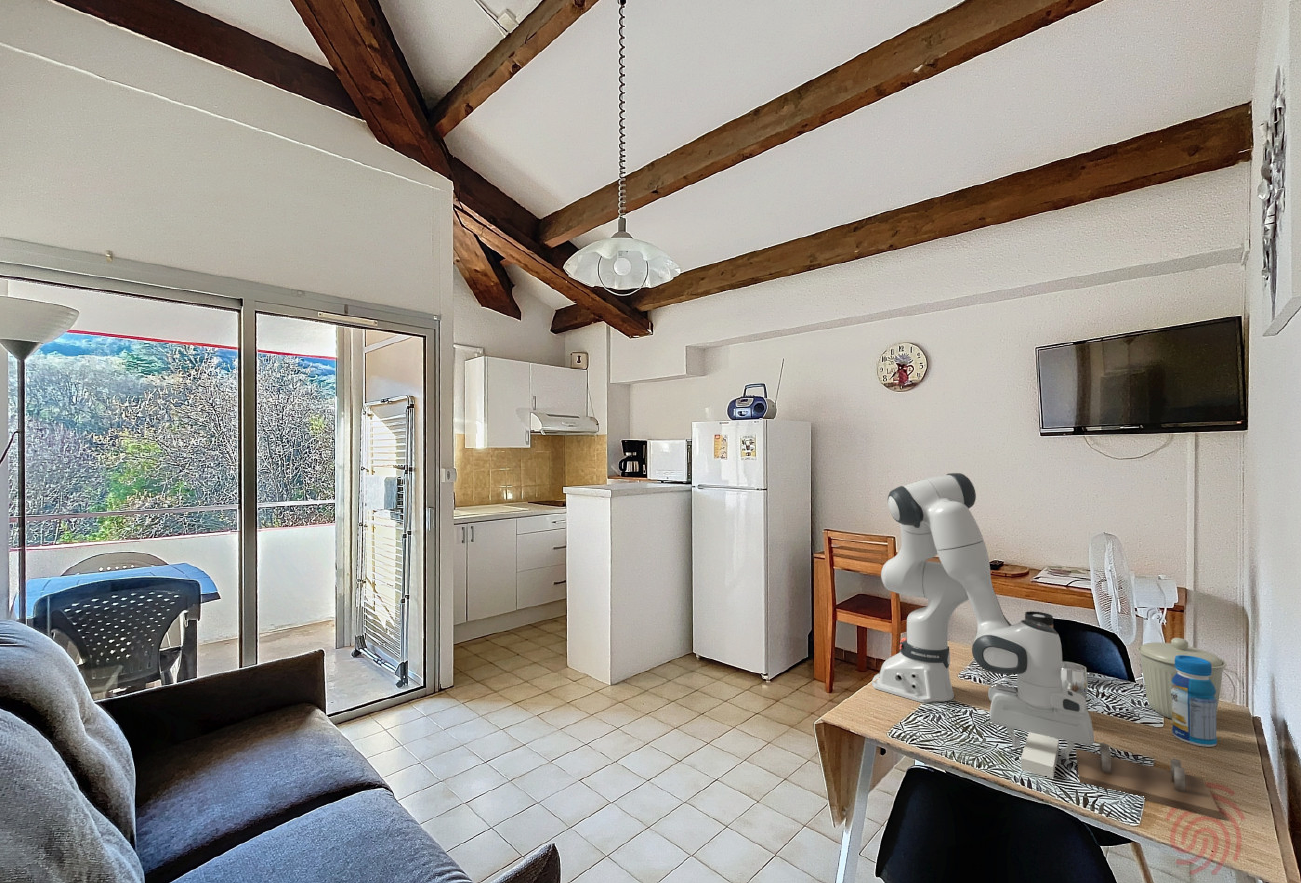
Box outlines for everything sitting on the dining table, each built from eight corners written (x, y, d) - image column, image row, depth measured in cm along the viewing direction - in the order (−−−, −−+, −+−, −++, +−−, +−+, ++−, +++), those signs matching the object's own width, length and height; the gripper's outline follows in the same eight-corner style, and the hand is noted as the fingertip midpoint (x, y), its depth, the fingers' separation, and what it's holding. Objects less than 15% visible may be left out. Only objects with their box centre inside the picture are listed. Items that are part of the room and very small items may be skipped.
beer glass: (1093, 730, 149) (1093, 671, 149) (1063, 727, 150) (1063, 669, 151) (1079, 718, 156) (1078, 662, 156) (1050, 715, 157) (1050, 660, 158)
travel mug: (1019, 673, 188) (1019, 611, 188) (1041, 672, 189) (1040, 610, 189) (1037, 682, 180) (1037, 618, 181) (1060, 681, 181) (1059, 617, 181)
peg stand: (1079, 783, 125) (1079, 755, 125) (1076, 755, 137) (1075, 729, 137) (1219, 819, 113) (1219, 788, 113) (1202, 785, 124) (1202, 757, 124)
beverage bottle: (1211, 751, 138) (1210, 667, 139) (1166, 737, 146) (1164, 657, 146) (1222, 742, 143) (1221, 661, 143) (1178, 728, 150) (1176, 651, 150)
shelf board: (1021, 771, 130) (1020, 758, 130) (1029, 743, 143) (1029, 731, 143) (1053, 781, 126) (1053, 767, 127) (1058, 751, 139) (1058, 739, 139)
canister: (1244, 726, 151) (1243, 645, 152) (1197, 735, 146) (1196, 652, 147) (1166, 698, 169) (1165, 626, 169) (1121, 706, 164) (1120, 631, 164)
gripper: (987, 686, 138) (987, 745, 138) (1094, 708, 127) (1095, 771, 126) (989, 678, 143) (989, 734, 143) (1092, 698, 132) (1093, 759, 132)
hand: (1040, 752), depth 135 cm, fingers open, 8 cm apart
